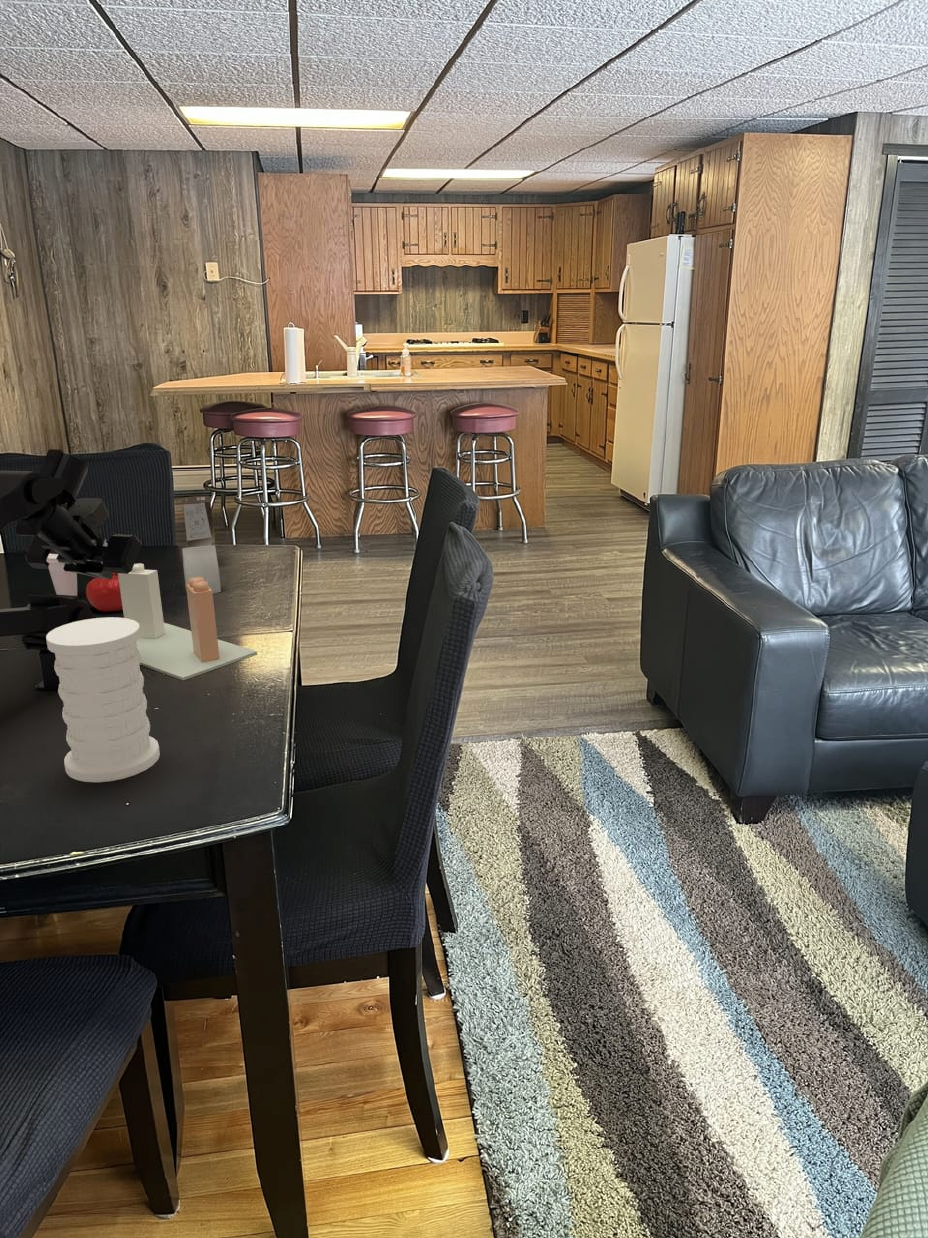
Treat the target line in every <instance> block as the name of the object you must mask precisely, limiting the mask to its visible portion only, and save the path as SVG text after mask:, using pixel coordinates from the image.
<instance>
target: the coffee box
mask: <svg viewBox="0 0 928 1238" xmlns="http://www.w3.org/2000/svg"><path fill="white" fill-rule="evenodd" d="M211 502H212V501H211V498H210V495H197V496H196V495H194V496H186V497H182V502H181V504H182V513H183V521H184V523H183V524H184V530H185V537H186V538H185V540H186V546H187V547H186V548H191V547H201V546H210V545H215V546H216V541H215V539H216V538H215V532H214V531H215V530H214V522H213V521H214V519H213V511H212V510H213V509H212V503H211Z"/></svg>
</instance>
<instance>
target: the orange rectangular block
mask: <svg viewBox="0 0 928 1238" xmlns="http://www.w3.org/2000/svg"><path fill="white" fill-rule="evenodd" d="M185 590H187V592H186V595H187V597H186V598H187V604H188V606H187V607H188V612H189V613H188V614H189V615H188V616H189V622H190V624H189V625H190V631H191V633H192V641H193V650H194V652H195V654H196V655H197V657H198V658H199V659H200V661H201V662H205V661H210V660H216V659H220V658H219V649H218V632H217V631H218V630H217V621H216V613H215V612H216V611H215V604H214V596H213V594H214V593H212V590H211V589H210V588H209V587H208V582H207V581H204V578H203V577H192V578H189V584H188V585H186V584H185Z"/></svg>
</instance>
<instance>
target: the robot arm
mask: <svg viewBox="0 0 928 1238" xmlns="http://www.w3.org/2000/svg"><path fill="white" fill-rule="evenodd" d="M88 470H89V467H88V465H87V464H86V462H85V461H84V460H80V459H79V458H77V457H75V456H73V455H71V454H68V453H64V451H62V449H61V448H60V449H59V448H57V449H56V448H49V449H48V451H47V453H46V454H45V459H44V462H43V463H42V466H41V468H40V470H39V473H38V472H35V471H27V470H26V471H25V470H24V471H23V470H22V471H21V470H20V471H19V470H0V532H1V531H3V530H4V529H5V528H6V527H7V526H9V525H11V524H12V523H15V522H16V524H15V528H14V529H15V531H14V532H15V535H16V536H24V537H25V536H26V537H29V536H30V537H32V539H31V542H30V544H29V545H28V549H27V550H26V553H25V555H24V557H25V560H26V564H28V565H29V566H30V567H32V568H33V569H40V570H47V569H49V568H48V566H49V563H48V562H47V561H46V560H47V558H48V555H49V554H58V556H57V558H56V559H57V560H58V562H59V563H63V564H64V568H63V569H64V571H66V572H73V573H77V574H79V575H85V576H89V577H93V578H97V577H98V578H103V579H109V580H111V579H112V577H113V573H123V574H128V573H129V572H131V571H132V569H133V566H134V564H136V560H137V559H138V556H139V553H140V550H141V547H142V544H143V543H142V542H141V540H139V539H138V536H136V535H135V534H121V533H116V534H112V535H110V538H109V540H107V539H106V537H100V535H101V533H102V531H101V530H100V529H99V528H100V527H101V525H102V524H103V523H104V522H105V521H106V519H107V520H108V519H109V517H110V513H109V512H108V509H107V507H106V505H105V502H104V501H103V499H102V498H97V497H81V498H77V497H78V494H79V492H80V490H81V487H82V485H83V482H84V481H85V479H86V478H85V477H86V475H87V474H88ZM80 597H81V596H79V595H77V596H72V595H57V594H54V593H43V594H41V595H37V594H36V595H35V594H33V595H32V594H29V595H28V600H29V603H28V605H26V606H24V607H14V608H13V607H12V608H11V607H9V608H0V638H1V637H10V636H18V635H19V636H20V635H22V637H21V642H22V644H23V647H24V648H25V650H29V651H30V650H35V651H36V650H37V651H39V652H38V653H37V654H38V660H39V664H40V672H41V676H42V677H41V678H42V681H40V682H39V683H37V684H36V685H34V690H37V691H39V690H41V691H58V688H59V684H60V680H59V676H57V674H56V672H55V669H54V664H55V660H56V657H55V653H53V652H51V651H50V650H49V649H48V646H47V641H46V635H47V634H48V633H49V632H50V631H52V630H54V629H55V628H57V627H60V626H62V625H65V624H69V623H72V622H76V621H81V620H87V619H94V616H93V612H92V610H91V609H90V606H89V604H88V601H85V600H82V599H80Z"/></svg>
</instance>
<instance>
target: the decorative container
mask: <svg viewBox="0 0 928 1238" xmlns="http://www.w3.org/2000/svg"><path fill="white" fill-rule="evenodd" d="M140 637H141V632H140V626H139V623H138V622H136V621H135V620H131V619H127V618H124V617H113V616H111V617H109V616H107V617H96V618H94V617H93V619H87V620H81V621H76V622H72V623H69V624H65V625H62V626H60V627H57V628H55V629H54V630H52V631H50V632H49V633H48V634H47V635H46V641H47V646H48V649H49V650H50V651H51V652H53V653H55V657H56V660H55V664H54V669H55V672H56V674H57V676H59V680H60V684H59V688H58V690H57V693H58V695H59V697H60V699H61V700H62V703H63V707H62V714H61V715H62V716H61V717H62V719H63V722H64V723H65V724H66V727H67V730H66V734H65V735H66V736H65V738H66V743H67V745H68V746H69V747H70V749H71V750H69V752H67V753H66V755H65V757H64V760H63V761H64V763H63V764H64V770H65V774H66V775H67V776H68V777H69V778H71V779H73V780H76V781H79V782H84V783H105V782H114V781H117V780H123V779H127V778H129V777H133V776H136V775H138V774H140V773H143V772H145V771H147V770H148V769H149V768H151V767H153V766H154V765H155V764H156V763H157V762H158V761H159V758H160V756H161V754H160V753H161V752H160V746H159V742H158V740H157V739H155V738H154V737H152V736H150V732H151V724H150V723H151V722H150V721H149V717H148V716H147V713H146V712H147V709H148V700H147V698H146V695H145V693H144V689H143V688H144V686H145V684H144V683H145V676H144V675H143V673H142V671H141V667H140V666H141V665H140V662H141V661H140V660H141V655H140V652H139V650H138V648H137V645H136V641H137V640H139V638H140Z"/></svg>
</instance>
